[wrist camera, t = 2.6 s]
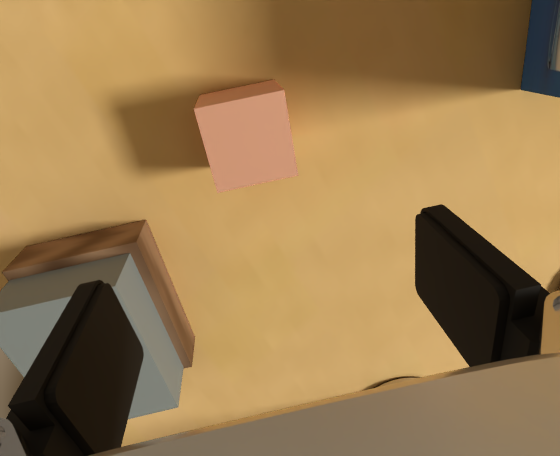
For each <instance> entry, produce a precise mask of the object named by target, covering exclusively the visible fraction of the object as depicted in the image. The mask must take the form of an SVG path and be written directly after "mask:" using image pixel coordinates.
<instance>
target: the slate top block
mask: <svg viewBox="0 0 560 456" xmlns="http://www.w3.org/2000/svg"><path fill="white" fill-rule="evenodd" d="M96 280H102V281H103V282H104V283H109V284H110V285H111V287H112V288H113V290H114V292H115V294H116V296H117V298H118V300H119V302H120V304H121V306H122V308H123V310H124V312H125V314H126V315H127V317H128V319H129V321H130V323H131V325H132V327H133V329H134V331H135V333H136V335H137V337H138V339H139V341H140V343H141V345H142V347H143V352H144V357H143V362H142V366H141V370H140V374H139V377H138V381H137V385H136V389H135V393H134V397H133V401H132V405H131V409H130V413H129V417H128V419H131V418H135V417H139V416H143V415H148V414H152V413H156V412H160V411H165V410H169V409H173V408H177V407H178V405H179V397H180V390H181V382H182V375H183V365H182V363H181V361H180V359H179V356H178V354H177V352H176V350H175V348H174V346H173V344H172V342H171V339H170V337H169V335H168V333H167V331H166V329H165V327H164V324H163V322H162V320H161V318H160V316H159V314H158V312H157V309H156V307H155V305H154V303H153V301H152V299H151V297H150V295H149V292H148V290H147V288H146V286H145V284H144V282H143V280H142V277H141V275H140V273H139V271H138V269H137V267H136V265H135V263H134V260H133V258H132V256H131V254H130V253H127V254H123V255H118V256H114V257H109V258H105V259H101V260H96V261H92V262H88V263H83V264H79V265H74V266H70V267H66V268H61V269H57V270H52V271H48V272H44V273H39V274H35V275H31V276H26V277H22V278H17V279H13V280H9V282H8V283H7V284H6V285H5V286H4V287H3V288H2V290H1V291H0V348H1V349H2V350H3V352H4V353H5V354H6V355H7V357H8V358H9V359H10V360H11V362H12V363H13V364H14V365H15V367H16V368H17V369H18V370H19V372H20V373H21V374H22V375H23V377H25V376H26V374H27V372H28V370H29V369H30V367H31V365H32V364H33V362H34V360H35V358H36V357H37V355H38V353H39V352H40V350H41V348H42V346H43V345H44V343H45V341H46V340H47V338H48V336H49V334H50V333H51V331H52V329H53V328H54V326H55V324H56V322H57V321H58V319H59V317H60V316H61V314H62V312H63V310H64V309H65V307H66V305H67V304H68V302H69V300H70V298H71V297H72V295H73V293H74V292H75V290H76V288H77V286H78V285H79V284H82V283H87V282H92V281H96Z"/></svg>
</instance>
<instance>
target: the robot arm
mask: <svg viewBox="0 0 560 456" xmlns="http://www.w3.org/2000/svg"><path fill="white" fill-rule="evenodd" d="M415 286H416V290H417V293H418V295H419V297H420V298H421V299H422V301H423V302H424V304H425V305H426V306H427V308H428V309H429V311H430V312H431V313H432V315H433V316H434V318H435V319H436V320H437V322H438V323H439V325H440V326H441V327H442V329H443V330H444V332H445V333H446V334H447V336H448V337H449V339H450V340H451V341H452V343H453V344H454V346H455V347H456V348H457V350H458V351H459V353H460V354H461V355H462V357H463V358H464V359H465V361H466V362H467V364H468V365H469V366H470V367H468V368H463V369H458V370H454V371H449V372H444V373H439V374H435V375H430V376H426V377H421V378H401V379H396V380H392V381H389V382H387V383H384V384H382V385H380V386H378V387H376V388H373V389H368V390H364V391H359V392H355V393H350V394H346V395H342V396H337V397H333V398H329V399H324V400H320V401H315V402H311V403H307V404H302V405H298V406H294V407H289V408H285V409H281V410H276V411H272V412H268V413H264V414H259V415H255V416H251V417H246V418H242V419H238V420H233V421H229V422H225V423H221V424H216V425H212V426H208V427H204V428H200V429H195V430H191V431H187V432H183V433H178V434H174V435H170V436H166V437H162V438H157V439H153V440H149V441H145V442H141V443H136V444H132V445H128V446H124V447H121V444H122V440H123V436H124V432H125V428H126V424H127V420H128V417H129V413H130V409H131V405H132V401H133V397H134V393H135V389H136V385H137V381H138V377H139V374H140V370H141V366H142V362H143V357H144V352H143V347H142V345H141V343H140V341H139V339H138V337H137V335H136V333H135V331H134V329H133V327H132V325H131V323H130V321H129V319H128V317H127V315H126V314H125V312H124V310H123V308H122V306H121V304H120V302H119V300H118V298H117V296H116V294H115V292H114V290H113V288H112V287H111V285H110V284H109V283H104V282H103V281H102V280H96V281H92V282H87V283H82V284H79V285H78V286H77V288H76V290H75V292H74V293H73V295H72V297H71V298H70V300H69V302H68V304H67V305H66V307H65V309H64V310H63V312H62V314H61V316H60V317H59V319H58V321H57V322H56V324H55V326H54V328H53V329H52V331H51V333H50V334H49V336H48V338H47V340H46V341H45V343H44V345H43V346H42V348H41V350H40V352H39V353H38V355H37V357H36V358H35V360H34V362H33V364H32V365H31V367H30V369H29V370H28V372H27V374H26V376H25V377H24V379H23V381H22V383H21V384H20V386H19V388H18V389H17V391H16V393H15V395H14V396H13V398H12V400H11V401H10V403H9V405H8V406H9V408H10V409H11V411H10V412H9V414H8V416H7V418H6V419H4V418H0V456H560V290H558V291H555V292H552V293H551V294H550V293H549V292H548V291H546V290H545V289H544V288H543V287H541V284H540V283H538V282H537V281H536V280H535V279H534V278H532V277H531V276H530V275H529V274H527V273H526V272H525V271H524V270H523V269H521V268H520V267H519V266H518V265H516V264H515V263H514V262H513V261H512V260H510V259H509V258H508V257H507V256H505V255H504V254H503V253H502V252H500V251H499V250H498V249H497V248H496V247H494V246H493V245H492V244H491V243H489V242H488V241H487V240H486V239H485V238H483V237H482V236H481V235H480V234H478V233H477V232H476V231H475V230H474V229H472V228H471V227H470V226H469V225H467V224H466V223H465V222H464V221H463V220H461V219H460V218H459V217H458V216H456V215H455V214H454V213H453V212H451V211H450V210H449V209H448V208H447V207H445V206H444V205H436V206H432V207H427V208H423V209H422V210H421V213H420V214H417V215H416V220H415Z"/></svg>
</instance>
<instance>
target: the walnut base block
mask: <svg viewBox="0 0 560 456" xmlns="http://www.w3.org/2000/svg"><path fill="white" fill-rule="evenodd" d="M127 253H130V254H131V256H132V258H133V260H134V263H135V265H136V267H137V269H138V271H139V273H140V275H141V277H142V280H143V282H144V284H145V286H146V288H147V290H148V292H149V295H150V297H151V299H152V301H153V303H154V305H155V307H156V309H157V312H158V314H159V316H160V318H161V320H162V322H163V324H164V327H165V329H166V331H167V333H168V335H169V337H170V339H171V342H172V344H173V346H174V348H175V350H176V352H177V354H178V356H179V359H180V361H181V363H182V365H183V368H188V367H192V361H193V352H194V342H195V336H194V333H193V331H192V329H191V326H190V324H189V321H188V319H187V317H186V314H185V312H184V309H183V307H182V305H181V302H180V300H179V297H178V295H177V293H176V290H175V288H174V285H173V283H172V281H171V278H170V276H169V273H168V271H167V269H166V266H165V264H164V261H163V259H162V256H161V254H160V252H159V249H158V247H157V244H156V242H155V240H154V237H153V235H152V232H151V230H150V228H149V225H148V223H147V220H142V221H138V222H133V223H129V224H124V225H120V226H115V227H111V228H106V229H102V230H97V231H93V232H88V233H84V234H79V235H75V236H71V237H66V238H62V239H57V240H53V241H48V242H44V243H39V244H35V245H30V246H26V247H25V248H24V249H23V250H22V252H21V253H20V254H19V255H18V256H17V257H16V258H15V259H14V260H13V261H12V262H11V263H10V264H9V265H8V266H7V267H6V269H5V270H4V271H3V272H2V273H3V274H4V276H5V277H6V279H7V280H8V281H9V280H13V279H17V278H22V277H26V276H31V275H35V274H39V273H44V272H48V271H52V270H57V269H61V268H66V267H70V266H74V265H79V264H83V263H88V262H92V261H96V260H101V259H105V258H109V257H114V256H118V255H123V254H127Z"/></svg>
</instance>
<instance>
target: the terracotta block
mask: <svg viewBox="0 0 560 456" xmlns="http://www.w3.org/2000/svg"><path fill="white" fill-rule="evenodd" d="M194 112H195V115H196V119H197V122H198V126H199V129H200V133H201V136H202V140H203V144H204V147H205V151H206V154H207V158H208V161H209V165H210V168H211V172H212V175H213V179H214V182H215V186H216V189H217V193H219V192H224V191H228V190H233V189H238V188H242V187H247V186H252V185H256V184H261V183H266V182H270V181H275V180H280V179H284V178H289V177H293V176H298V171H297V165H296V159H295V152H294V146H293V140H292V134H291V128H290V122H289V116H288V110H287V103H286V97H285V91H284V89H283V88H282V87H281V86H280V85H279V84H278V83H277V82H276V81H275V80H269V81H265V82H260V83H255V84H250V85H245V86H240V87H236V88H231V89H226V90H221V91H216V92H212V93H207V94H202V95H200V96H199V98H198V100H197V102H196V105H195V107H194Z"/></svg>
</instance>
